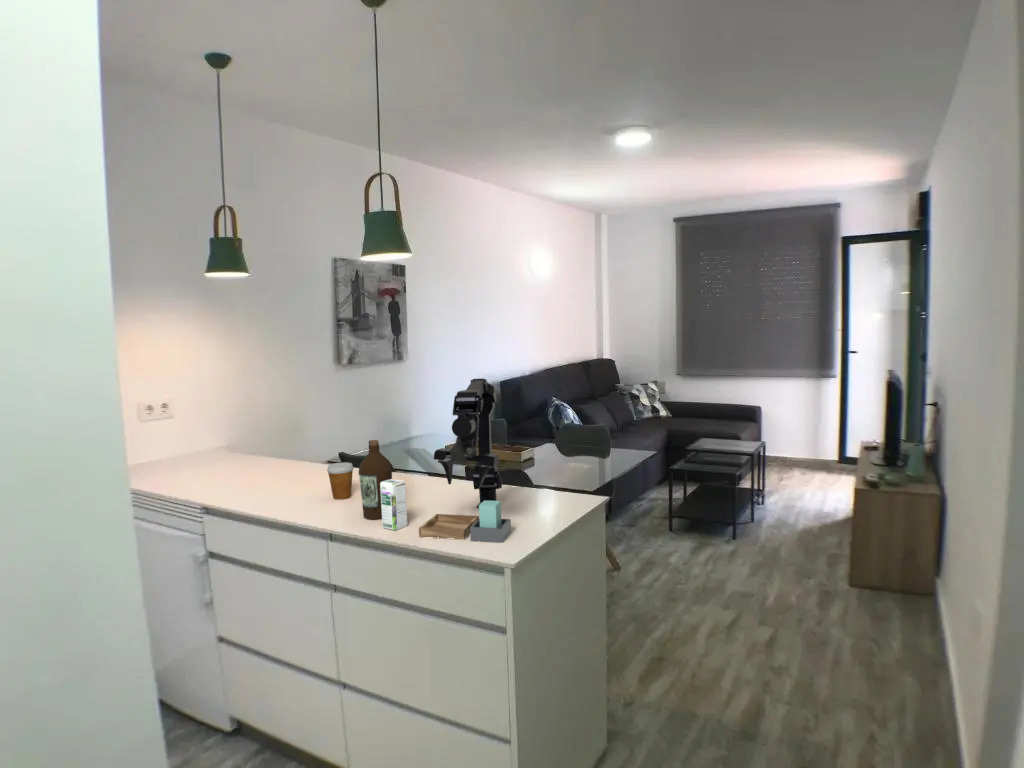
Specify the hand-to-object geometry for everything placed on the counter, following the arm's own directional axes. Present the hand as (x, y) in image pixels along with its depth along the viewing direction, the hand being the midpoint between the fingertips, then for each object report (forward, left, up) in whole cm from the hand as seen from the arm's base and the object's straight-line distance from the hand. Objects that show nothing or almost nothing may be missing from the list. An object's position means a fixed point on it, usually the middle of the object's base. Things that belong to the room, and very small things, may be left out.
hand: (464, 486), depth 199 cm
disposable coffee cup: (-30, -59, -14) cm, 68 cm away
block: (+3, +9, -14) cm, 17 cm away
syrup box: (-1, -24, -14) cm, 28 cm away
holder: (+3, +9, -14) cm, 17 cm away
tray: (0, -5, -14) cm, 15 cm away
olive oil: (-11, -35, -14) cm, 39 cm away
